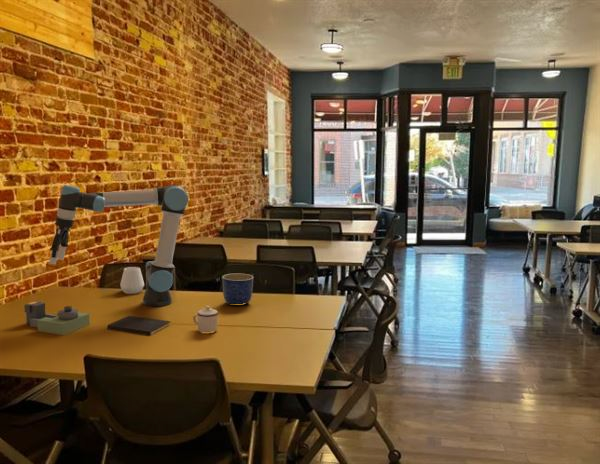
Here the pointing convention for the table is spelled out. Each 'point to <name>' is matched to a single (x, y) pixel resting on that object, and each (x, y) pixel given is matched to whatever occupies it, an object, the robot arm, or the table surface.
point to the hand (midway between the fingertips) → (56, 261)
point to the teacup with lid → (206, 319)
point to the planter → (237, 288)
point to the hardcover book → (138, 325)
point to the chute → (34, 310)
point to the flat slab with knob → (61, 321)
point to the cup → (132, 280)
